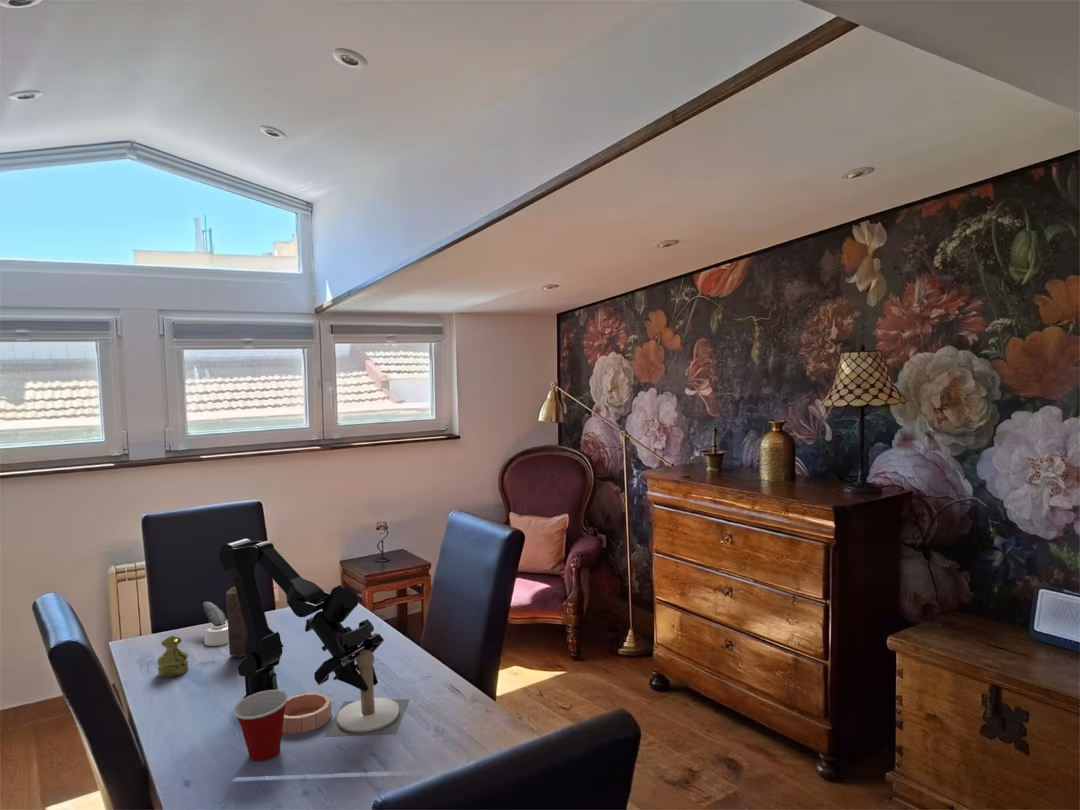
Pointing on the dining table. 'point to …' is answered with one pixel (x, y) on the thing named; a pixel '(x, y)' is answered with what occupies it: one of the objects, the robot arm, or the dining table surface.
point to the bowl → (306, 712)
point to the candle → (235, 624)
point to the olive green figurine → (172, 659)
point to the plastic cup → (262, 722)
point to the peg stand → (367, 703)
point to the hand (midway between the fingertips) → (371, 687)
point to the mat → (389, 729)
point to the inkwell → (216, 626)
